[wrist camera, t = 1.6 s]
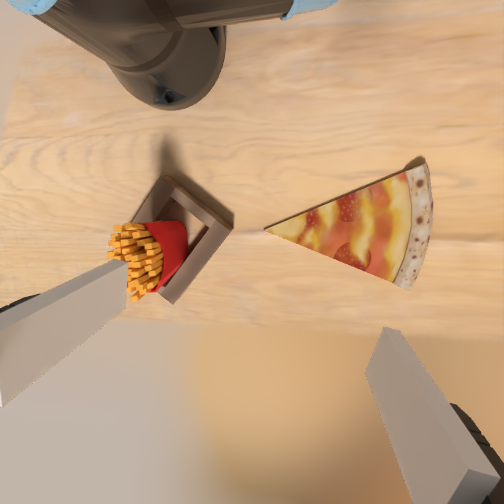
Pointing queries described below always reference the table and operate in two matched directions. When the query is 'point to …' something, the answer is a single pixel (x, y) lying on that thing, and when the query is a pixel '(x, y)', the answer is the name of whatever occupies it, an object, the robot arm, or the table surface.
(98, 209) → the table surface
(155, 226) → the french fries
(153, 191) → the fry holder
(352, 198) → the pizza slice
